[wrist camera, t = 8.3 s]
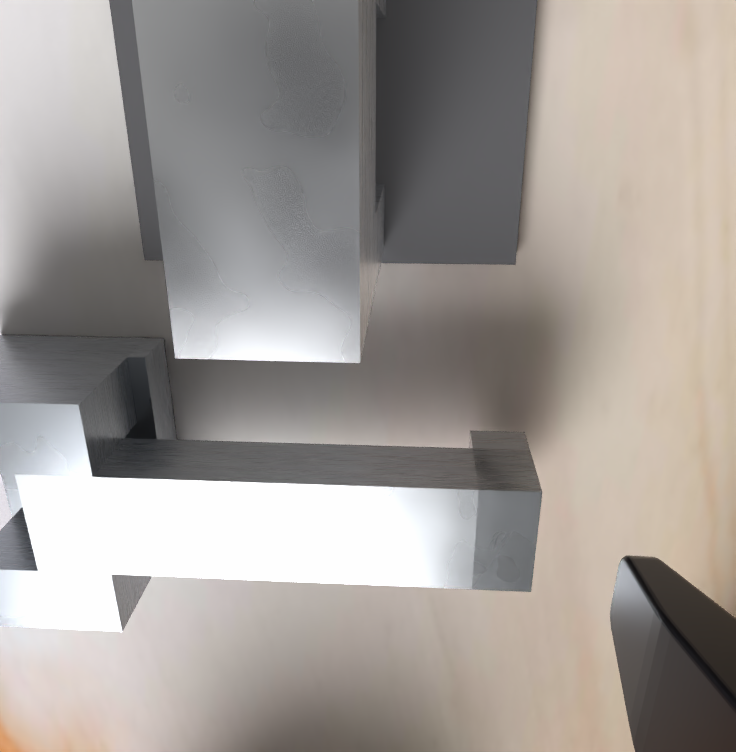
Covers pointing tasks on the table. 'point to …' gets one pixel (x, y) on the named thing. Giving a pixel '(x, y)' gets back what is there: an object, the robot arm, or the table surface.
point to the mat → (414, 127)
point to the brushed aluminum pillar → (265, 173)
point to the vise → (226, 496)
